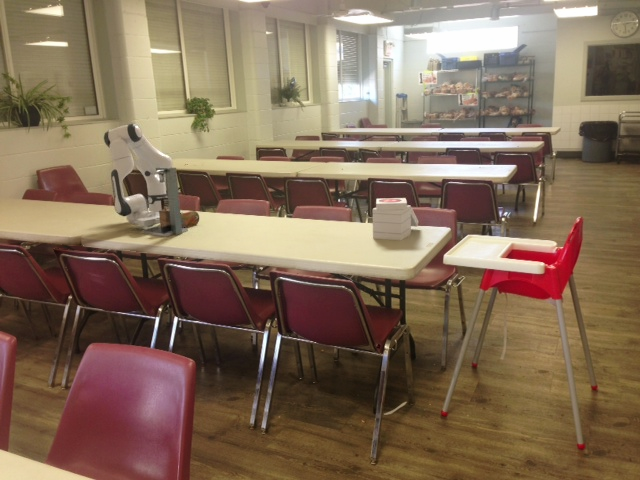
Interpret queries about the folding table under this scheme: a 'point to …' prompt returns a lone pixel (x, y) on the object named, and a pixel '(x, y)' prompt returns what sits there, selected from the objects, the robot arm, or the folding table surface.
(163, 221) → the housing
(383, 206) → the pizza boxes
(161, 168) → the press
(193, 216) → the tin
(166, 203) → the coffee box
